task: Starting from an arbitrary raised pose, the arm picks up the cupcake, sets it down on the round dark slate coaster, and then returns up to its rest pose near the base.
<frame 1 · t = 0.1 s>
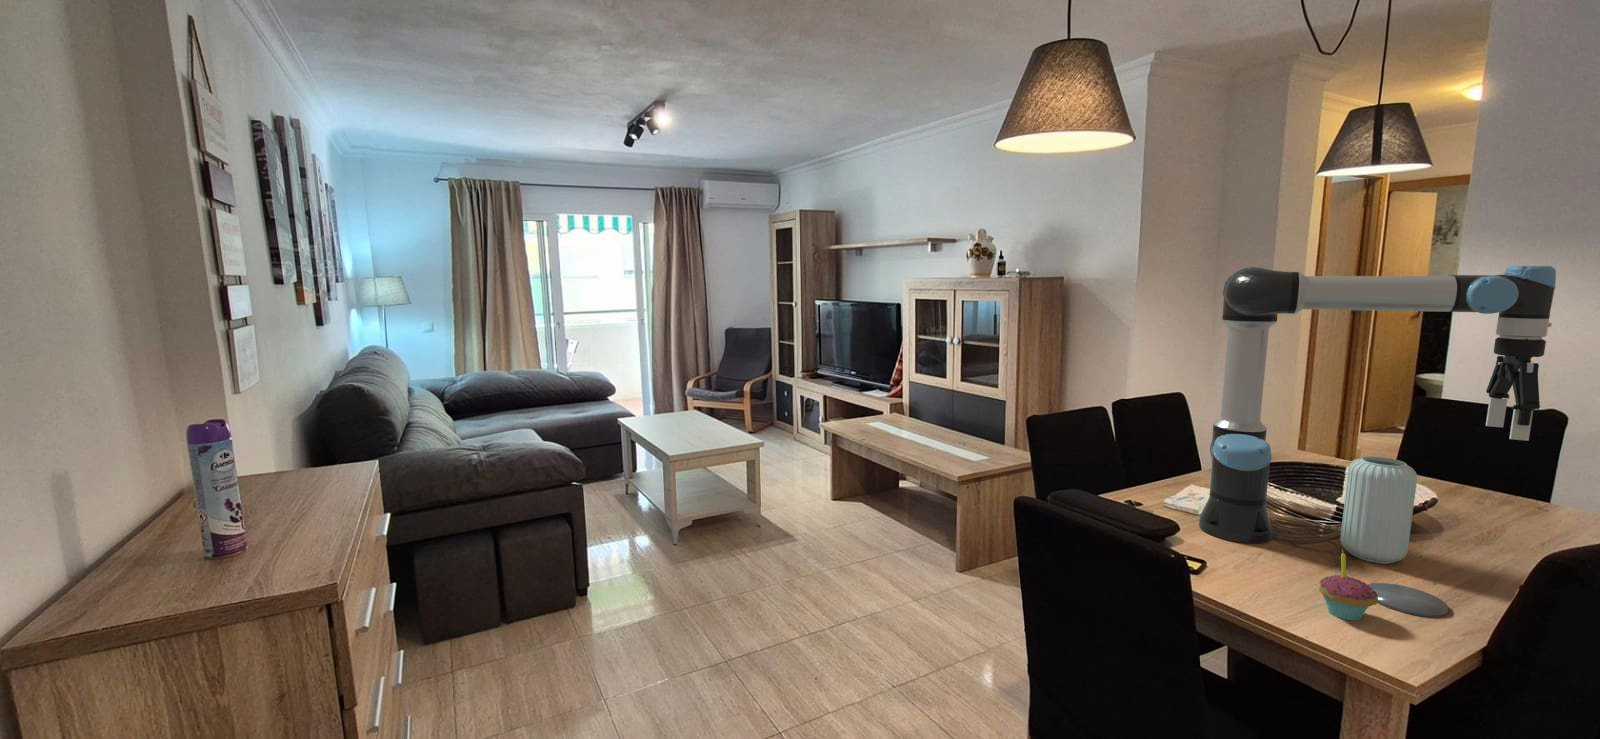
hand: (1506, 432, 147), 28 cm above the table, fingers open, 13 cm apart
vase: (1371, 557, 150), on the table
cupcake: (1345, 615, 125), on the table
coaster: (1405, 601, 130), on the table
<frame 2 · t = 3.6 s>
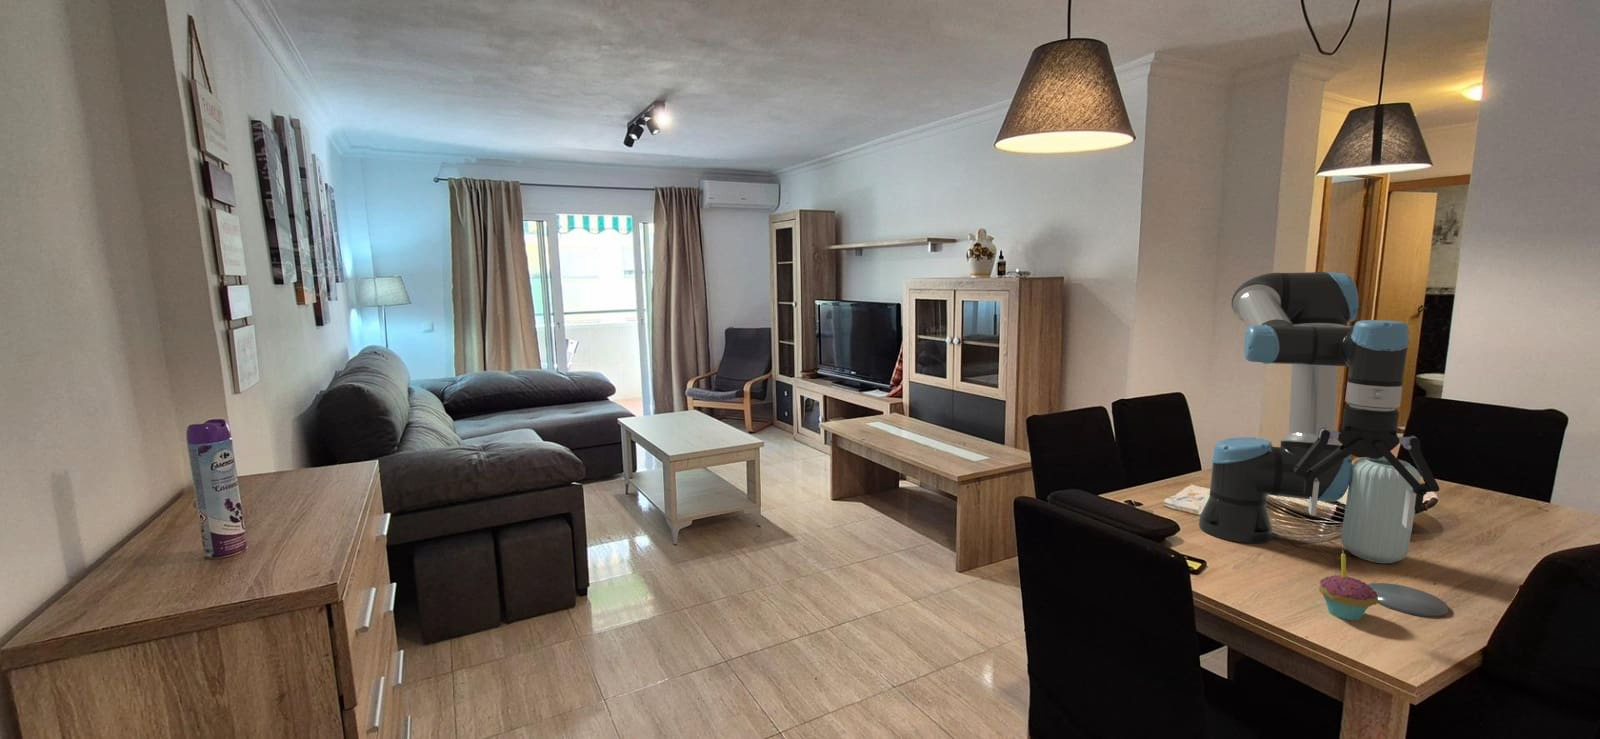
hand: (1358, 519, 122), 19 cm above the table, fingers open, 13 cm apart
vase: (1371, 556, 150), on the table, touching arm
everything else where it was.
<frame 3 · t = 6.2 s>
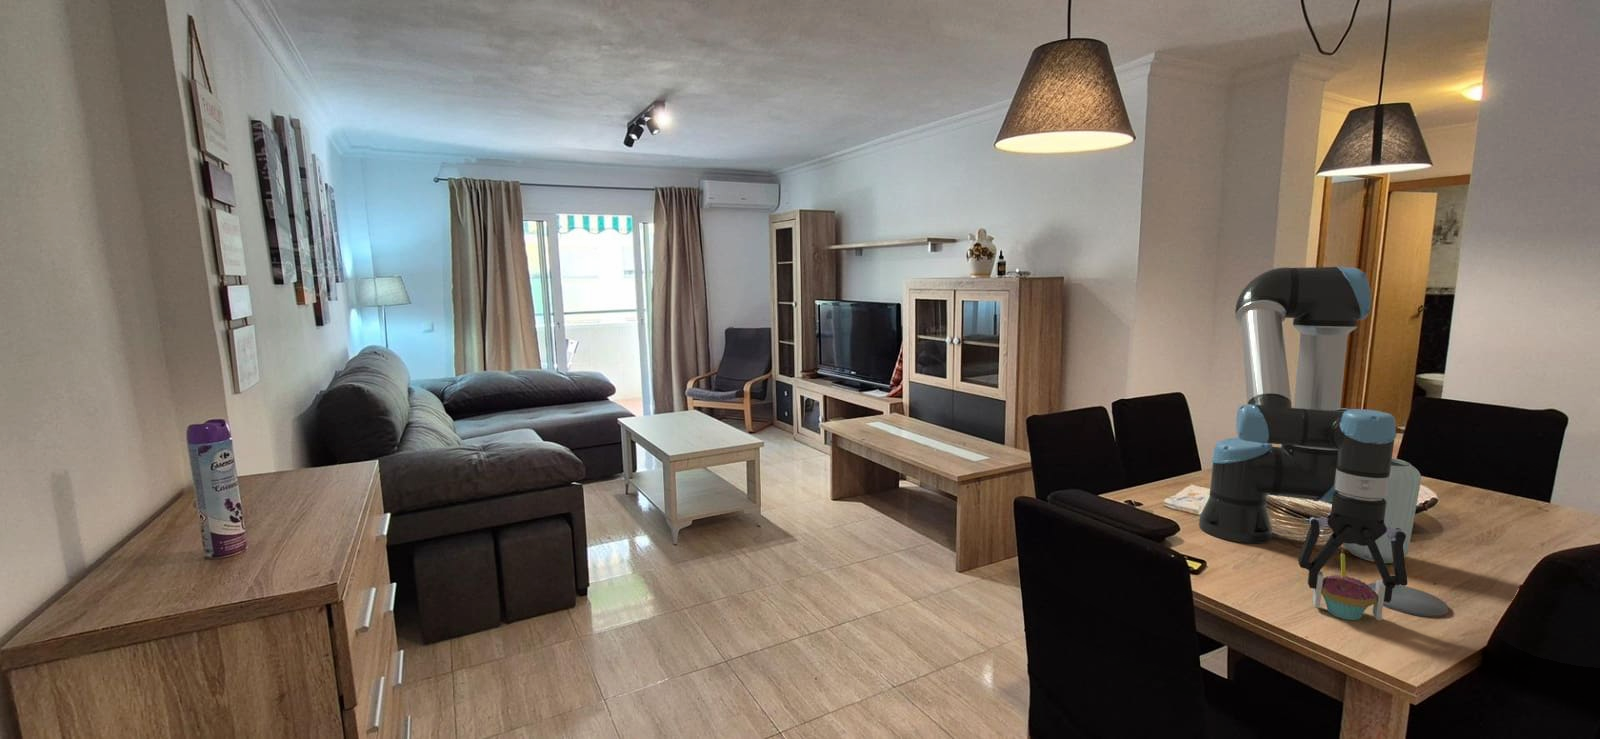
hand: (1345, 610, 125), 1 cm above the table, fingers closed on cupcake, 8 cm apart
cupcake: (1344, 615, 125), on the table, touching gripper
everything else where it was.
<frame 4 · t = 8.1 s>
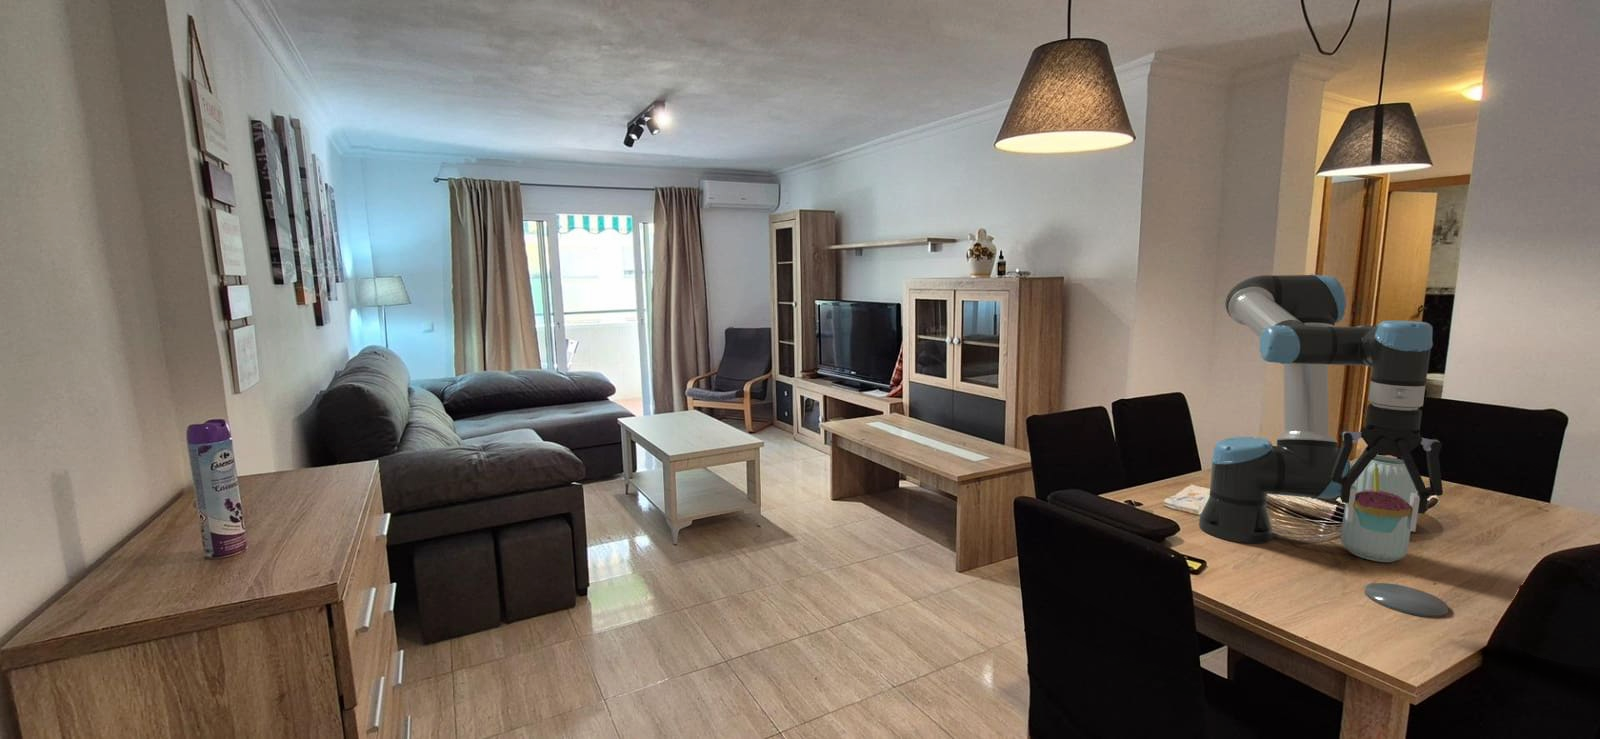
hand: (1378, 523, 125), 17 cm above the table, fingers closed on cupcake, 8 cm apart
vase: (1371, 556, 150), on the table
cupcake: (1377, 529, 125), point 16 cm above the table, touching gripper
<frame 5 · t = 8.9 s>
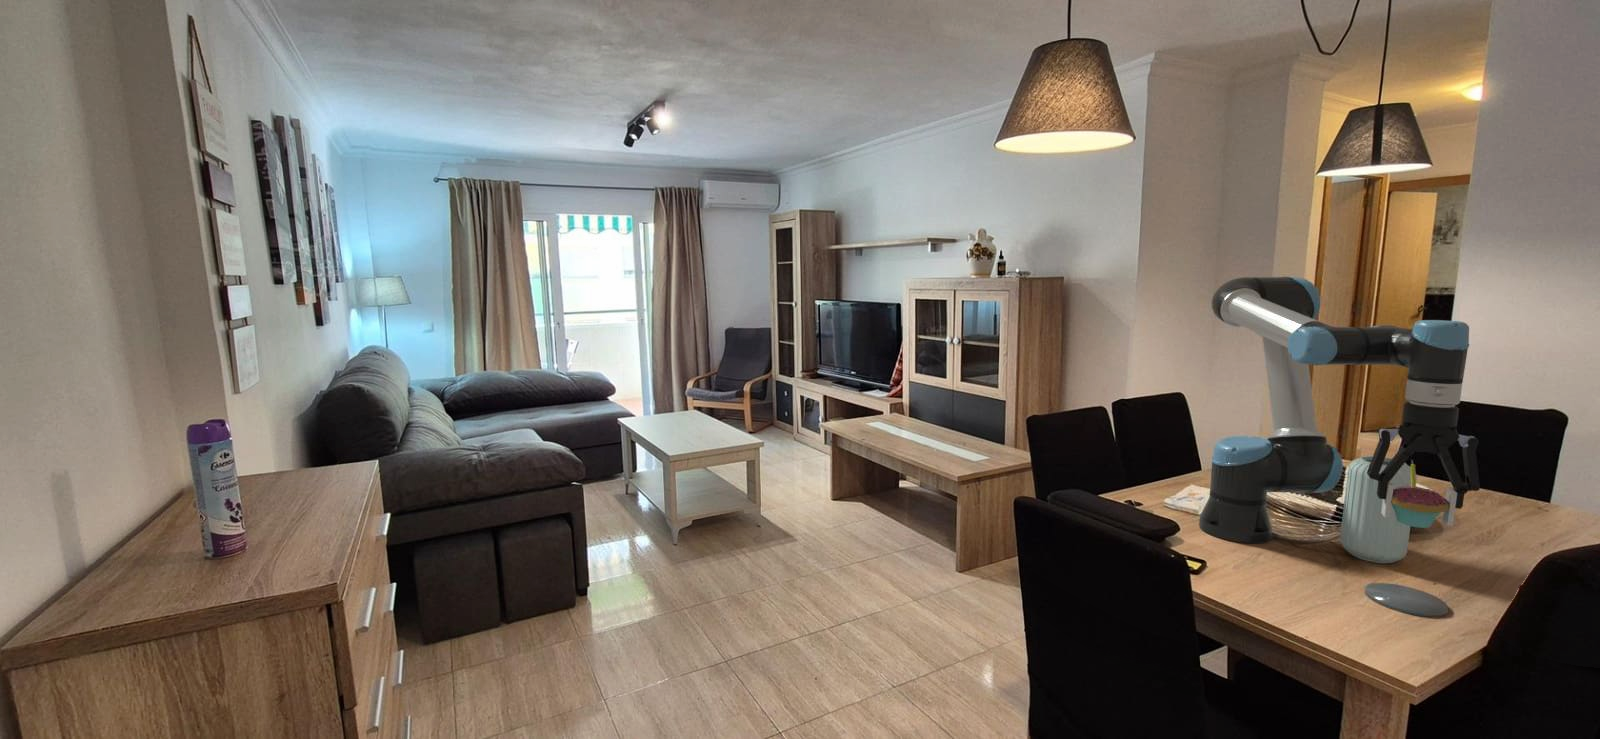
hand: (1415, 519, 127), 17 cm above the table, fingers closed on cupcake, 8 cm apart
cupcake: (1414, 524, 127), point 16 cm above the table, touching gripper
everything else where it was.
when the fingers open (4 cm above the table, at t = 12.0 s): cupcake drops 2 cm, resting on coaster.
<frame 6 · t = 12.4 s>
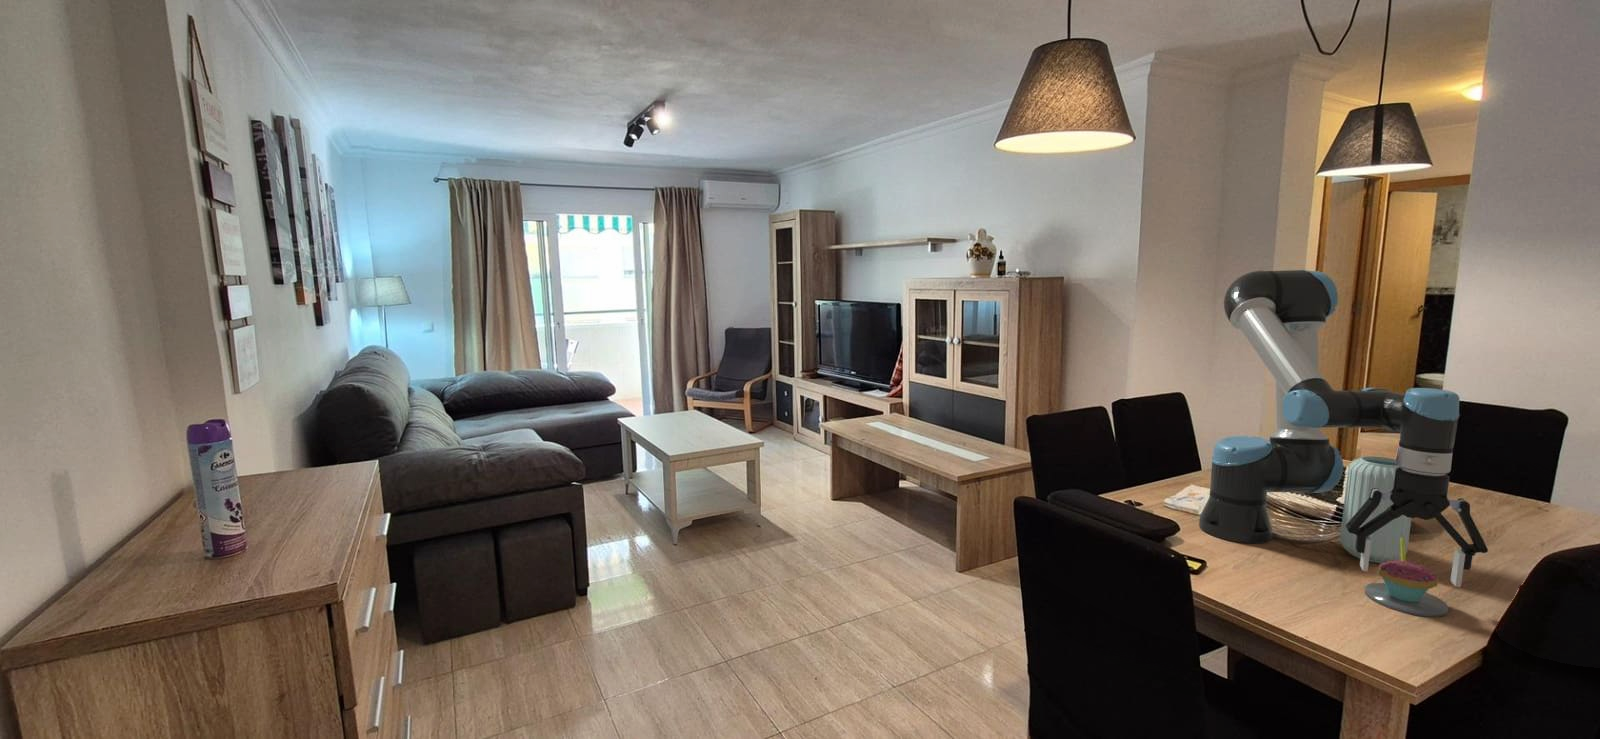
hand: (1408, 576, 129), 5 cm above the table, fingers open, 13 cm apart
cupcake: (1404, 597, 130), point 1 cm above the table, touching coaster
everything else where it was.
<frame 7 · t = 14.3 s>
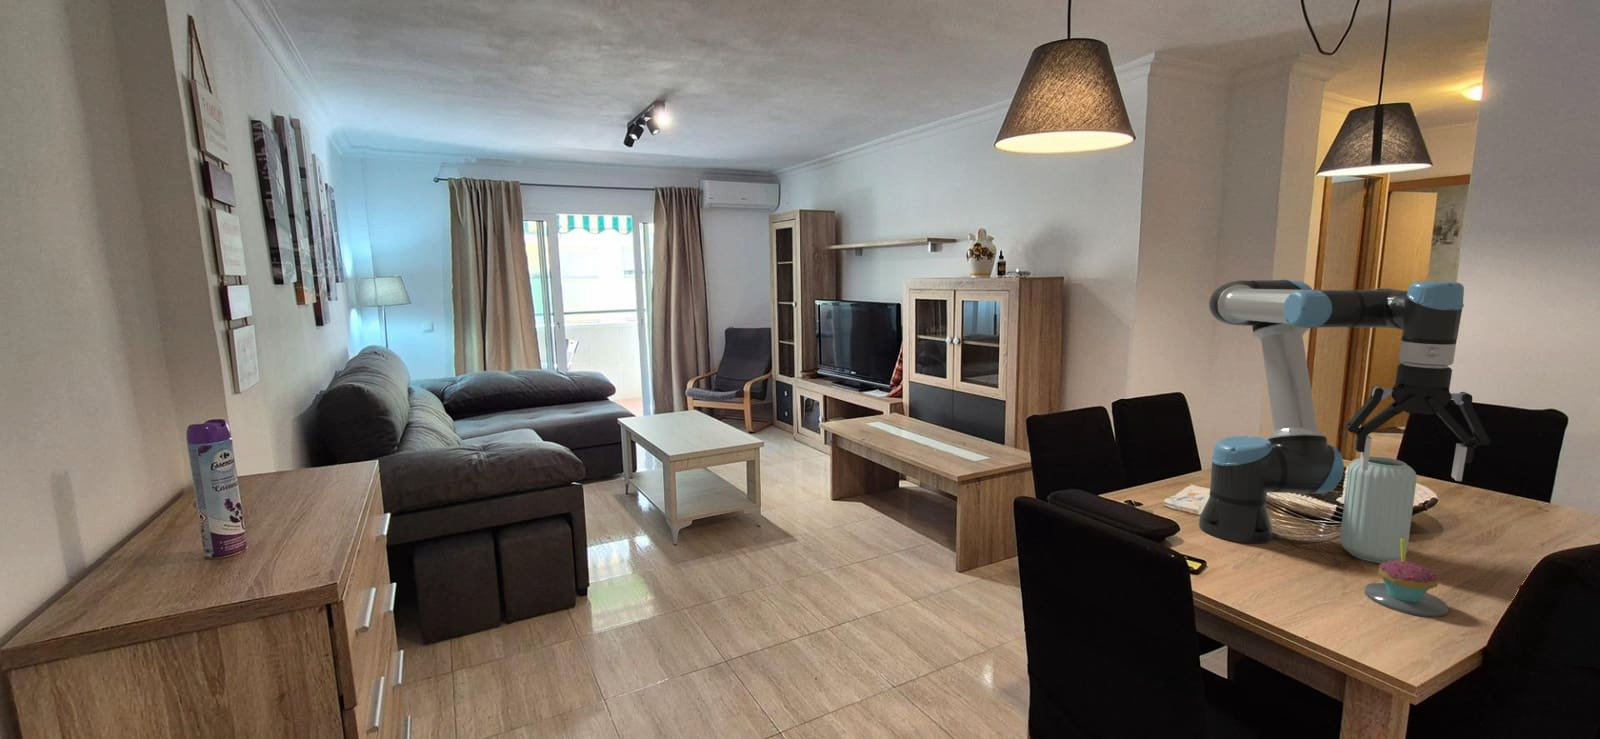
hand: (1408, 473, 128), 25 cm above the table, fingers open, 13 cm apart
nothing on the table moved.
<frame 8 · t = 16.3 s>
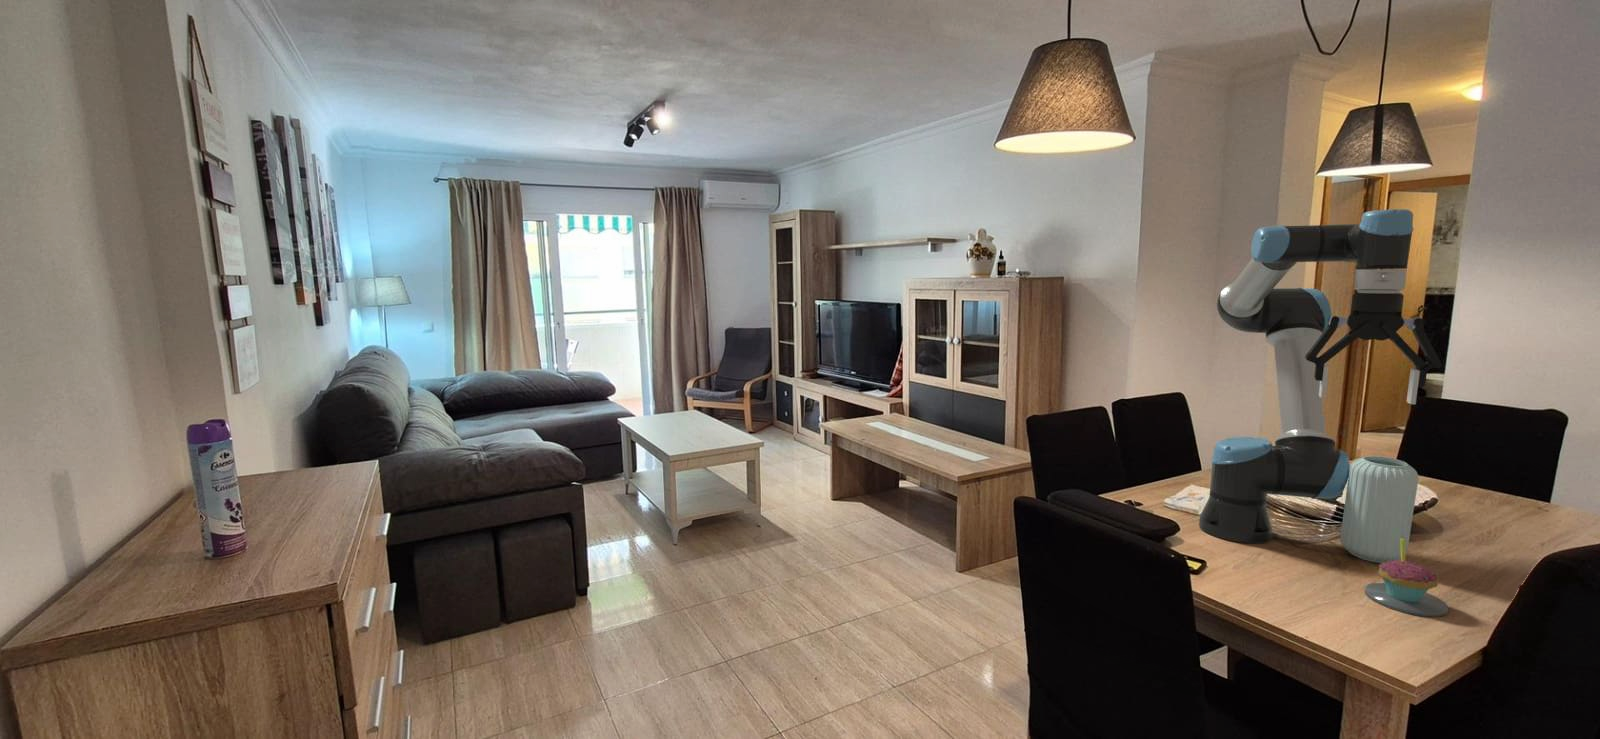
hand: (1365, 400, 131), 39 cm above the table, fingers open, 13 cm apart
vase: (1371, 556, 150), on the table, touching arm
everything else where it was.
at the end: cupcake 0.1 cm from the coaster (horizontally); cupcake tilted 0°; the gripper is holding nothing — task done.
